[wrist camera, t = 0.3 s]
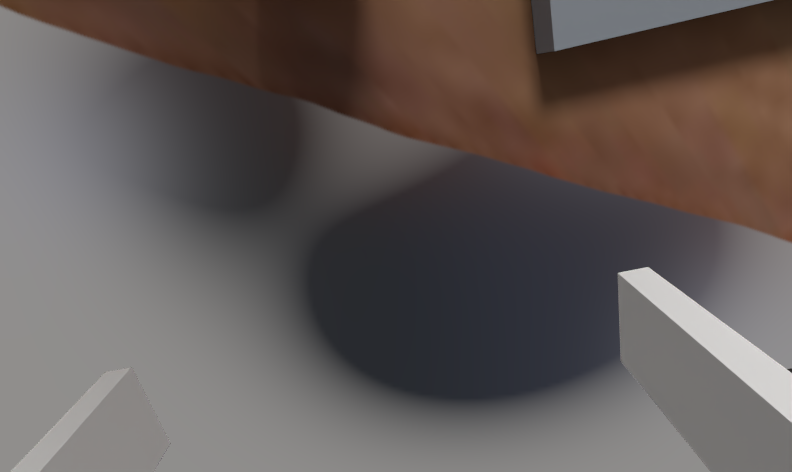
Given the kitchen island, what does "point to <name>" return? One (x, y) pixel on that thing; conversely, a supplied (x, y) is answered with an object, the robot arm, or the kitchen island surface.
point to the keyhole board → (614, 18)
